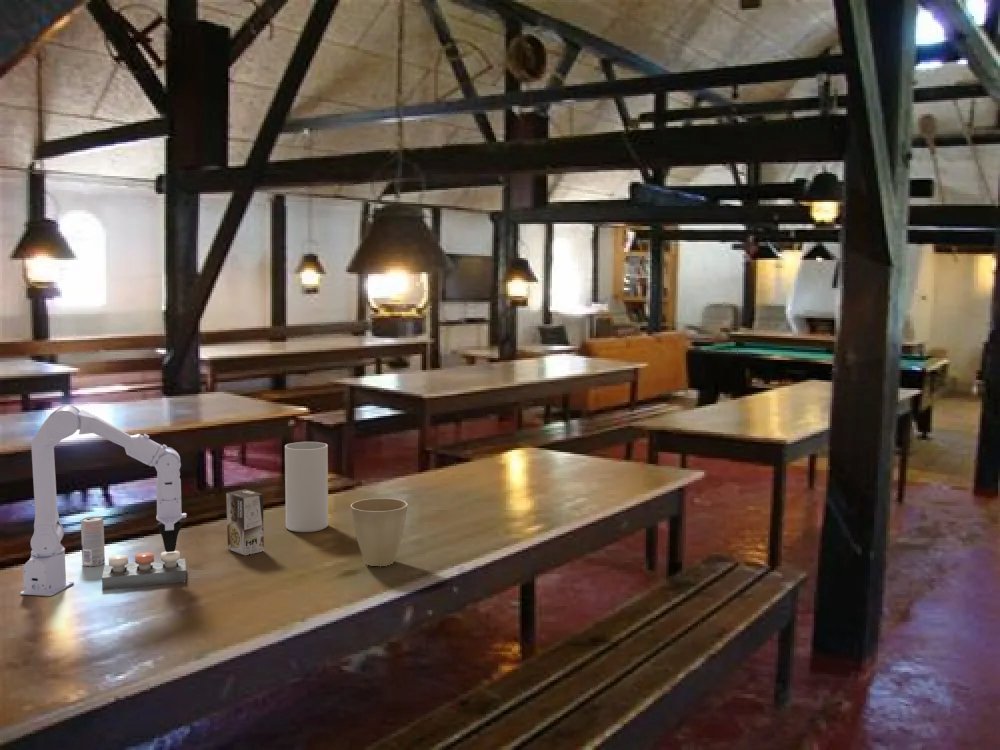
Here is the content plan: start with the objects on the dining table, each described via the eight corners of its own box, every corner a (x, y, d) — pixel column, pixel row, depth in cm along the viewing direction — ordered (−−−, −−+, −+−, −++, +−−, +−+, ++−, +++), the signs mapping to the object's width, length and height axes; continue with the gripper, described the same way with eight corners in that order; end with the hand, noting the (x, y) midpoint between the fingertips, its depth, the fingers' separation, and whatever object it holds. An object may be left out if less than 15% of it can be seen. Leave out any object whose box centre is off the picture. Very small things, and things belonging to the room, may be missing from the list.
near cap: (108, 577, 223) (108, 560, 223) (109, 571, 227) (109, 555, 227) (128, 575, 225) (127, 559, 224) (128, 570, 229) (128, 554, 228)
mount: (102, 589, 220) (101, 577, 220) (105, 576, 230) (104, 565, 229) (185, 582, 227) (185, 570, 226) (185, 569, 236) (185, 558, 236)
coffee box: (265, 551, 253) (264, 493, 251) (244, 556, 248) (243, 497, 246) (247, 544, 259) (246, 488, 257) (226, 549, 254) (225, 492, 252)
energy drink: (98, 559, 243) (97, 515, 242) (108, 563, 240) (107, 518, 239) (78, 564, 239) (76, 519, 238) (88, 568, 236) (87, 522, 235)
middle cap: (135, 574, 225) (134, 558, 225) (135, 569, 229) (135, 553, 229) (154, 573, 227) (153, 557, 226) (154, 567, 231) (154, 551, 230)
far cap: (161, 572, 227) (160, 556, 227) (161, 567, 231) (161, 551, 231) (180, 570, 229) (179, 554, 228) (179, 565, 233) (179, 549, 232)
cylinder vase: (333, 522, 283) (332, 442, 280) (321, 533, 270) (320, 450, 267) (293, 521, 284) (292, 441, 281) (280, 532, 271) (279, 448, 269)
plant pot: (415, 557, 249) (415, 500, 247) (394, 574, 235) (394, 513, 233) (364, 552, 253) (364, 495, 251) (341, 568, 239) (341, 508, 237)
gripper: (186, 503, 222) (187, 558, 224) (185, 490, 236) (186, 541, 237) (155, 505, 220) (156, 560, 222) (156, 492, 234) (157, 544, 235)
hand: (170, 551), depth 229 cm, fingers closed
